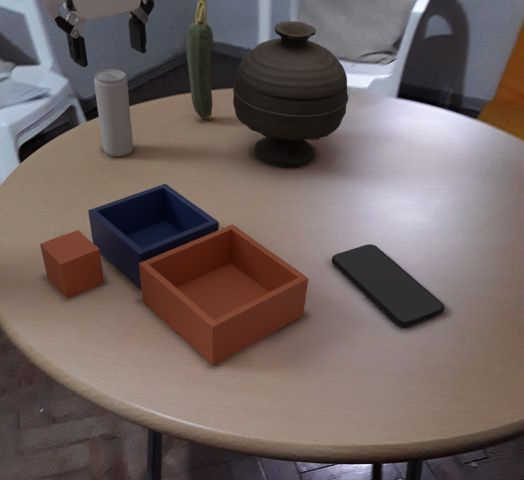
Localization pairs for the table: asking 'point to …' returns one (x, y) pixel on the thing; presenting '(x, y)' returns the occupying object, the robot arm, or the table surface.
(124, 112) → the beverage can
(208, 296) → the terracotta bin
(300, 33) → the pot
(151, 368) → the table surface
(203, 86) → the vegetable
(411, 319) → the smartphone
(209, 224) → the navy bin
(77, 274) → the terracotta block
